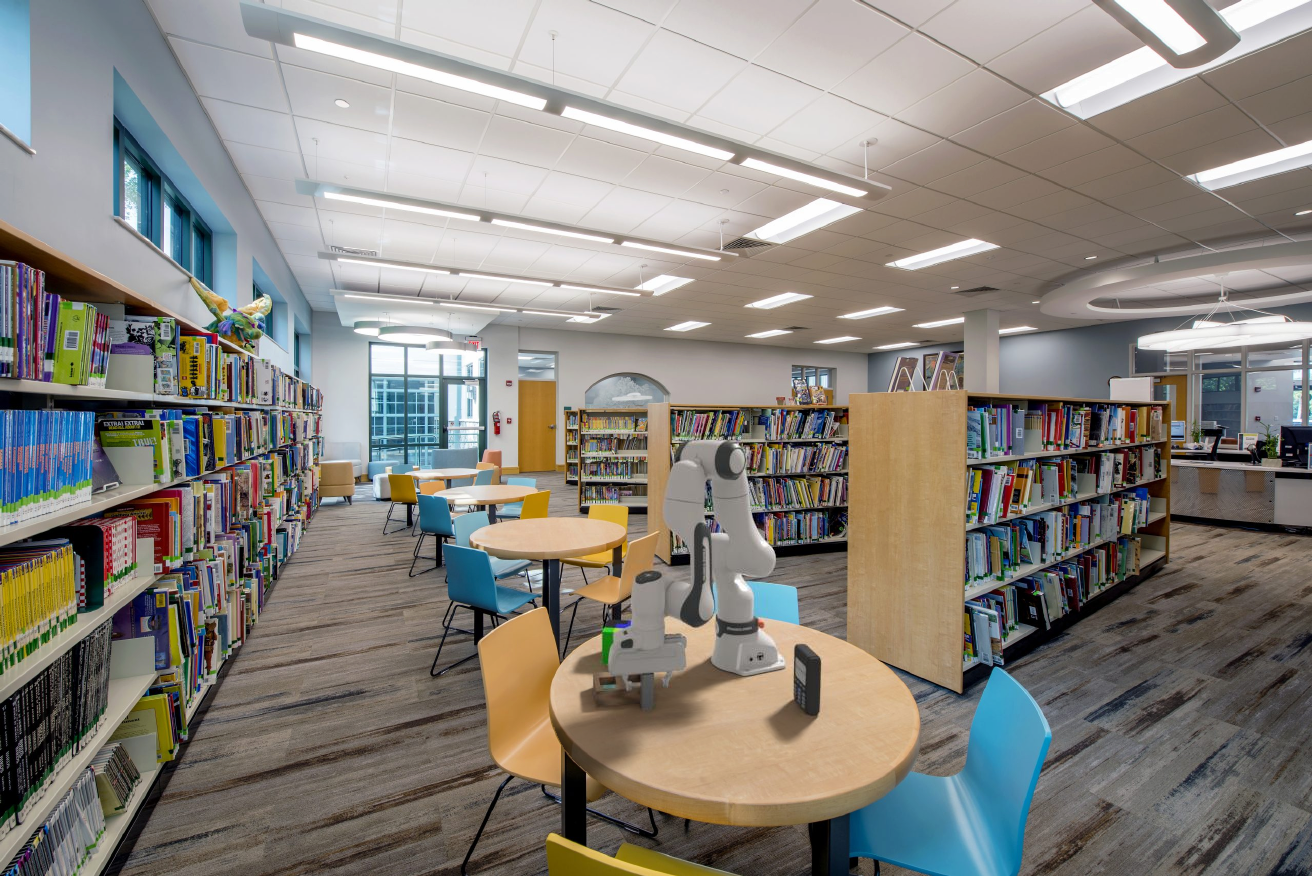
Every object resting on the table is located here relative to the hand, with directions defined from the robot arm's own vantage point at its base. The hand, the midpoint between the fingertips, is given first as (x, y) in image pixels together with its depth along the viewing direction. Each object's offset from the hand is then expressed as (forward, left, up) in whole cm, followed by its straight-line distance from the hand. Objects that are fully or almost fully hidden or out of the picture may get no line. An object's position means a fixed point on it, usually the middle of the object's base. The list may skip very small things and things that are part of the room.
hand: (647, 688), depth 138 cm
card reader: (-41, +7, -5) cm, 42 cm away
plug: (0, 0, -5) cm, 5 cm away
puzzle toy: (+3, -29, -5) cm, 30 cm away
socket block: (+6, -7, -5) cm, 10 cm away
